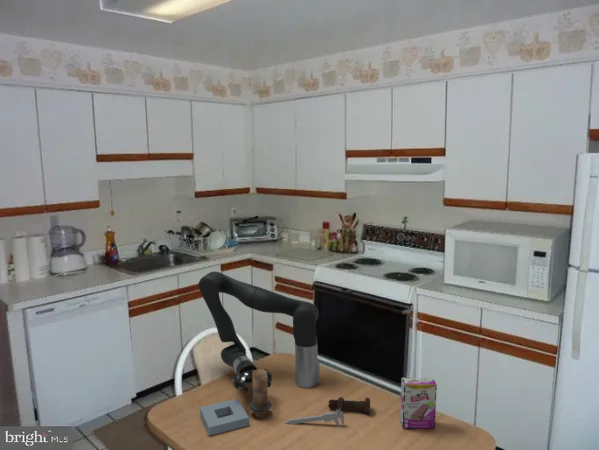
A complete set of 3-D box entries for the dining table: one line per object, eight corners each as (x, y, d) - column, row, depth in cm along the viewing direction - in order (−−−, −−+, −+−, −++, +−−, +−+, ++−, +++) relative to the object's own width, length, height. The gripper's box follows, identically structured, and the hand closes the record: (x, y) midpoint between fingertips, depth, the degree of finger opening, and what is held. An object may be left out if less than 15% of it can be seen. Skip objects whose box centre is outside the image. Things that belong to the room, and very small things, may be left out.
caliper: (344, 425, 156) (344, 408, 156) (344, 427, 155) (344, 410, 155) (285, 422, 158) (285, 406, 158) (285, 424, 157) (285, 407, 156)
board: (237, 405, 169) (237, 398, 169) (249, 425, 157) (249, 417, 156) (200, 414, 163) (199, 407, 163) (209, 435, 151) (208, 427, 150)
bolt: (329, 412, 168) (370, 414, 165) (327, 412, 163) (369, 415, 160) (330, 395, 170) (370, 397, 167) (328, 395, 165) (369, 397, 162)
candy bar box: (402, 429, 153) (403, 384, 151) (399, 421, 158) (400, 377, 156) (435, 429, 153) (437, 384, 151) (431, 421, 158) (433, 377, 156)
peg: (266, 406, 168) (265, 366, 166) (274, 416, 162) (273, 374, 159) (247, 411, 165) (246, 370, 163) (254, 422, 159) (252, 379, 156)
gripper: (227, 363, 175) (239, 381, 160) (261, 356, 181) (276, 373, 166) (227, 381, 176) (239, 401, 161) (262, 374, 182) (276, 392, 167)
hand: (258, 387), depth 164 cm, fingers open, 8 cm apart
